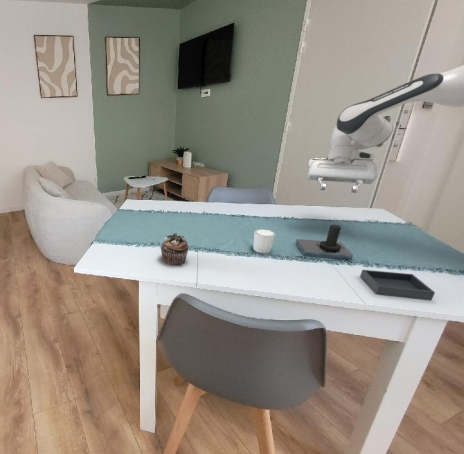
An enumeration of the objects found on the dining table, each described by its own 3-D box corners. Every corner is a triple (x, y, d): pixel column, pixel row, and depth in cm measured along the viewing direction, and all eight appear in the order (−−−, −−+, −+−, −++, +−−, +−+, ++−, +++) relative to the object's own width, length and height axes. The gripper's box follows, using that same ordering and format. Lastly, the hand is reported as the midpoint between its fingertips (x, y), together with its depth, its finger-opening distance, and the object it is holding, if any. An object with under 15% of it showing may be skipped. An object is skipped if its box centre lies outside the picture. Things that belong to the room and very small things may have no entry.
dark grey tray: (409, 281, 86) (412, 274, 85) (431, 300, 78) (435, 292, 77) (359, 276, 89) (362, 269, 88) (376, 294, 81) (378, 286, 80)
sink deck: (338, 246, 107) (340, 241, 106) (351, 259, 98) (353, 254, 97) (295, 243, 111) (296, 238, 110) (304, 256, 102) (305, 251, 101)
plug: (334, 248, 106) (342, 223, 102) (341, 256, 100) (350, 230, 96) (315, 247, 107) (322, 222, 103) (321, 255, 102) (328, 229, 98)
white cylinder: (272, 247, 109) (276, 230, 106) (271, 255, 104) (275, 237, 101) (252, 244, 112) (255, 227, 110) (250, 251, 107) (253, 234, 104)
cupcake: (192, 257, 105) (194, 232, 101) (180, 269, 98) (181, 243, 94) (168, 251, 111) (169, 227, 107) (155, 261, 104) (155, 236, 100)
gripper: (310, 152, 112) (305, 183, 108) (380, 155, 102) (377, 189, 99) (307, 162, 117) (302, 192, 114) (373, 165, 108) (370, 197, 104)
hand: (338, 190), depth 106 cm, fingers open, 8 cm apart
